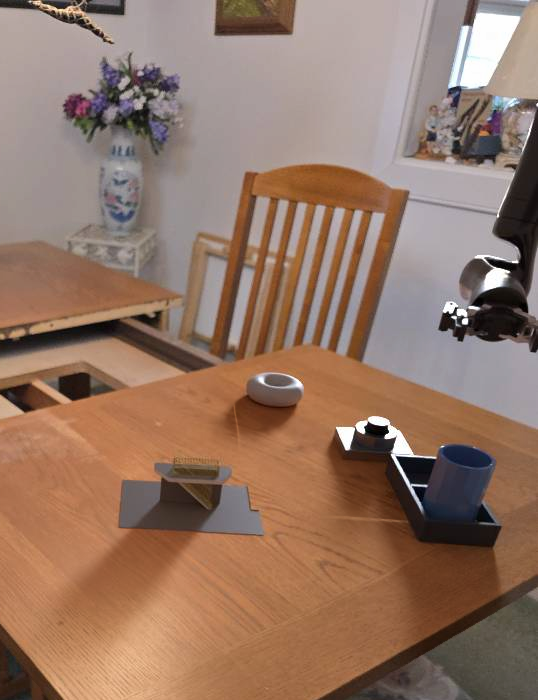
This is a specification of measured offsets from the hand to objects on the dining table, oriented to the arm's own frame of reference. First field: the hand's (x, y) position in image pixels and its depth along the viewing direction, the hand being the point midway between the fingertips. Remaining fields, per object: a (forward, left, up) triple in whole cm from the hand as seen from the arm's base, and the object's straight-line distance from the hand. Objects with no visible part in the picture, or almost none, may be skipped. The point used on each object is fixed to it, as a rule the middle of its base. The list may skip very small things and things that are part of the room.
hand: (498, 339), depth 88 cm
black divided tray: (+4, +6, -21) cm, 22 cm away
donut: (+22, -28, -21) cm, 41 cm away
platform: (+37, +10, -21) cm, 44 cm away
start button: (+9, -10, -18) cm, 22 cm away
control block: (+9, -10, -21) cm, 25 cm away
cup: (+4, +10, -20) cm, 23 cm away
